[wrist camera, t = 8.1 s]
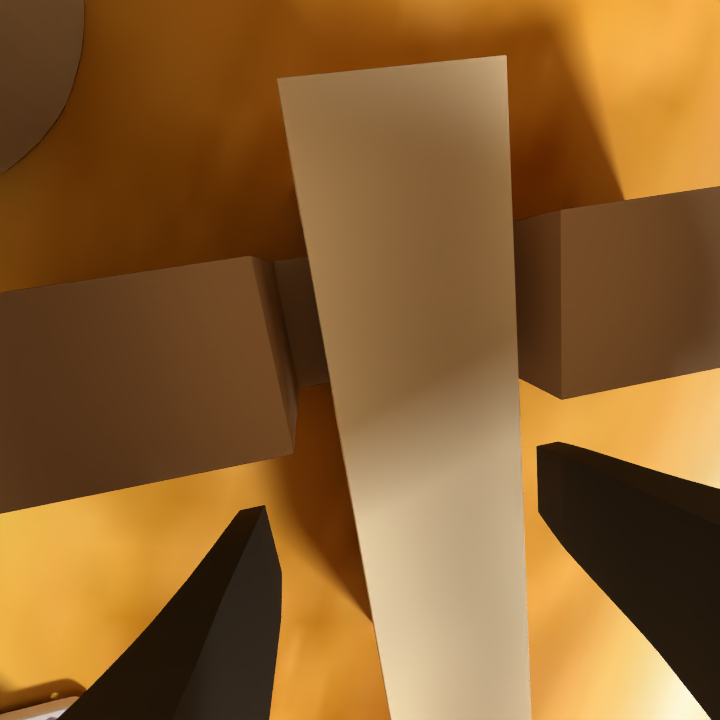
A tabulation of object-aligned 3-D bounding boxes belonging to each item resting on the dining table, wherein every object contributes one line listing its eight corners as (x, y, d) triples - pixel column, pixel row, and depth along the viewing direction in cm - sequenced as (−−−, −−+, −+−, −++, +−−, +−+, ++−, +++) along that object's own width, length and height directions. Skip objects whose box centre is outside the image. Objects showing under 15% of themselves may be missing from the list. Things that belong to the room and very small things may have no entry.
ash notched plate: (372, 623, 14) (416, 861, 9) (294, 186, 10) (276, 78, 4) (445, 605, 15) (535, 823, 9) (397, 173, 11) (505, 55, 5)
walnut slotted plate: (73, 401, 11) (-196, 553, 5) (35, 300, 10) (-335, 341, 4) (625, 303, 13) (897, 331, 7) (629, 210, 12) (940, 153, 6)
